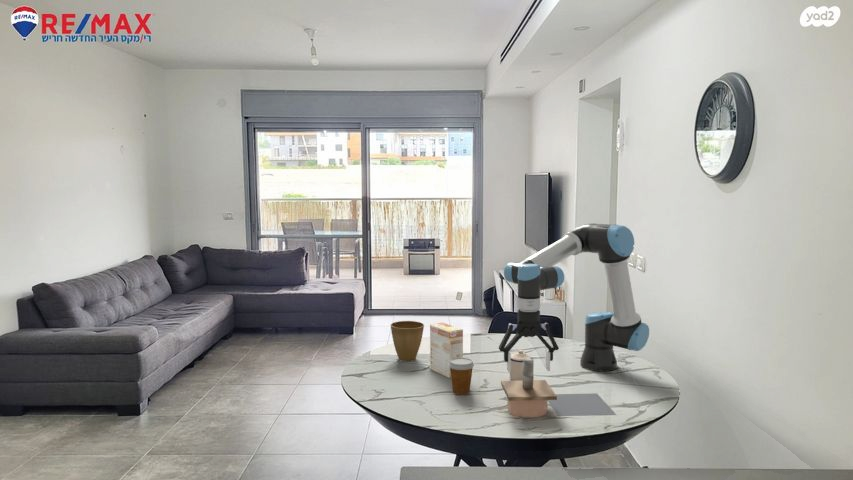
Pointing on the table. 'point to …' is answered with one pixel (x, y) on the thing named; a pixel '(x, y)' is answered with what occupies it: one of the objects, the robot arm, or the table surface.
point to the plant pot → (407, 339)
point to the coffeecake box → (444, 347)
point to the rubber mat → (580, 405)
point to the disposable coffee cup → (461, 375)
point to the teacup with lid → (518, 365)
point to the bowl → (527, 408)
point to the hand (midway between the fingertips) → (528, 370)
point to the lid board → (528, 394)
